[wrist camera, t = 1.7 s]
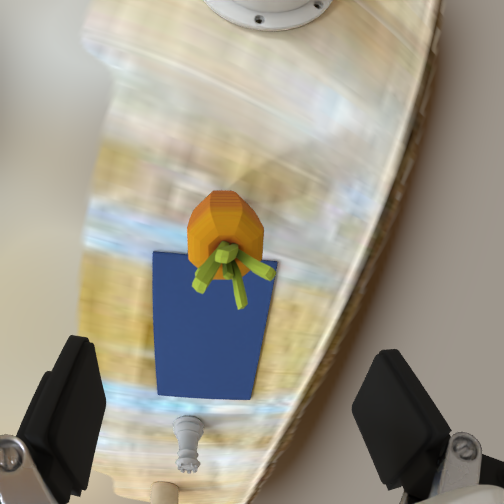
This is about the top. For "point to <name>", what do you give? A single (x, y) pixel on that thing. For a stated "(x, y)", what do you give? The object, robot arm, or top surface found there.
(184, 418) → the rook chess piece
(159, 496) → the candle
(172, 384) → the napkin
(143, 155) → the top surface
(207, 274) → the carrot
